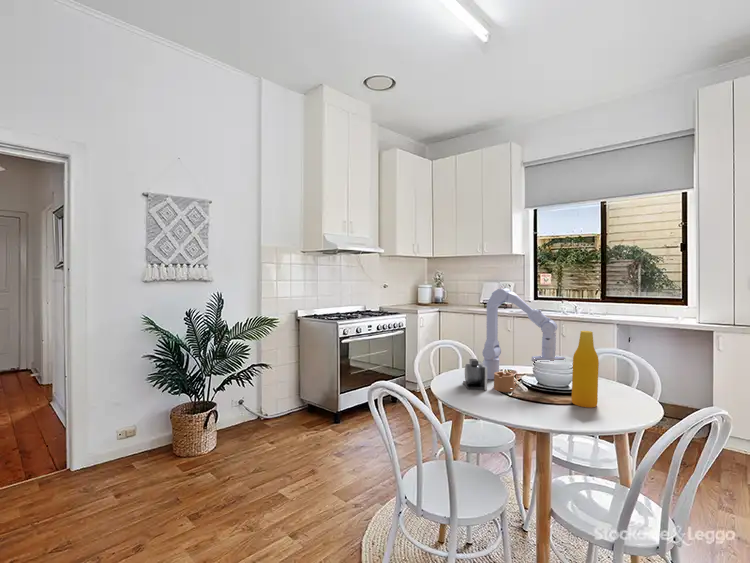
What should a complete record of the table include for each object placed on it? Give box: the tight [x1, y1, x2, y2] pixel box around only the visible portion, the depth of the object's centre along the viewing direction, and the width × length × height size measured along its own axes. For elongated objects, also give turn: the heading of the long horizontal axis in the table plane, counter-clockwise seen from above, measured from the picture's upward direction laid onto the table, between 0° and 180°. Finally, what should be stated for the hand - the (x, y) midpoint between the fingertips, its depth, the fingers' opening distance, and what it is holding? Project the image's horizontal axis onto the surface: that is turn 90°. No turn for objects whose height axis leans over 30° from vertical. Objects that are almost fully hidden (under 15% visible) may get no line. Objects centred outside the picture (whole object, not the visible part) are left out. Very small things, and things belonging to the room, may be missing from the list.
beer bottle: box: [571, 330, 600, 409], centre depth 165 cm, size 9×9×29 cm
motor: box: [462, 358, 488, 391], centre depth 188 cm, size 12×8×12 cm, turn 1°
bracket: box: [493, 371, 520, 393], centre depth 189 cm, size 18×8×7 cm, turn 149°
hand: (547, 377), depth 188 cm, fingers open, 7 cm apart
